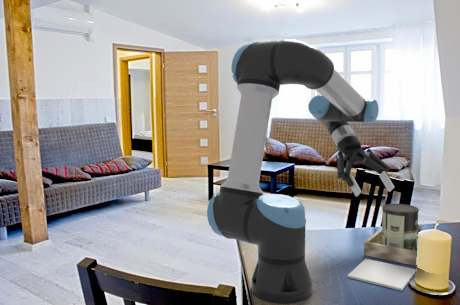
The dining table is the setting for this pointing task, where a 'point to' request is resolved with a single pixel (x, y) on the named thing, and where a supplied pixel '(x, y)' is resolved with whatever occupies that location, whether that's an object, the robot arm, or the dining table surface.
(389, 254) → the crate frame
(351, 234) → the dining table surface
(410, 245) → the coffee can
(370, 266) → the ceramic tile
